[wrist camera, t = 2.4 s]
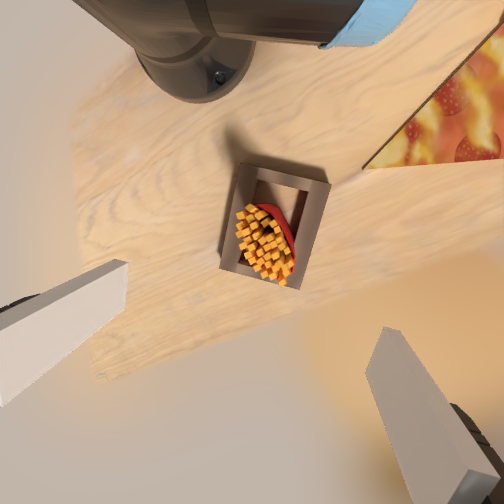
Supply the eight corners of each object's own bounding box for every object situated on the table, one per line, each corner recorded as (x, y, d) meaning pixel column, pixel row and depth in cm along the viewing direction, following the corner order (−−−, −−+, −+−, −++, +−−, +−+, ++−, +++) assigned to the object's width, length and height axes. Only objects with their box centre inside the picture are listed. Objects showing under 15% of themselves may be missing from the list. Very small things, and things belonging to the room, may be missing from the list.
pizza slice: (365, 31, 32) (370, 22, 30) (587, -3, 29) (609, -16, 27) (361, 169, 36) (365, 169, 34) (555, 154, 33) (571, 153, 31)
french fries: (300, 247, 40) (303, 280, 27) (274, 259, 41) (266, 296, 28) (271, 190, 38) (260, 197, 26) (244, 204, 39) (222, 218, 27)
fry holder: (223, 263, 42) (218, 268, 40) (243, 163, 38) (240, 162, 35) (299, 283, 41) (299, 289, 39) (329, 183, 37) (331, 184, 34)
